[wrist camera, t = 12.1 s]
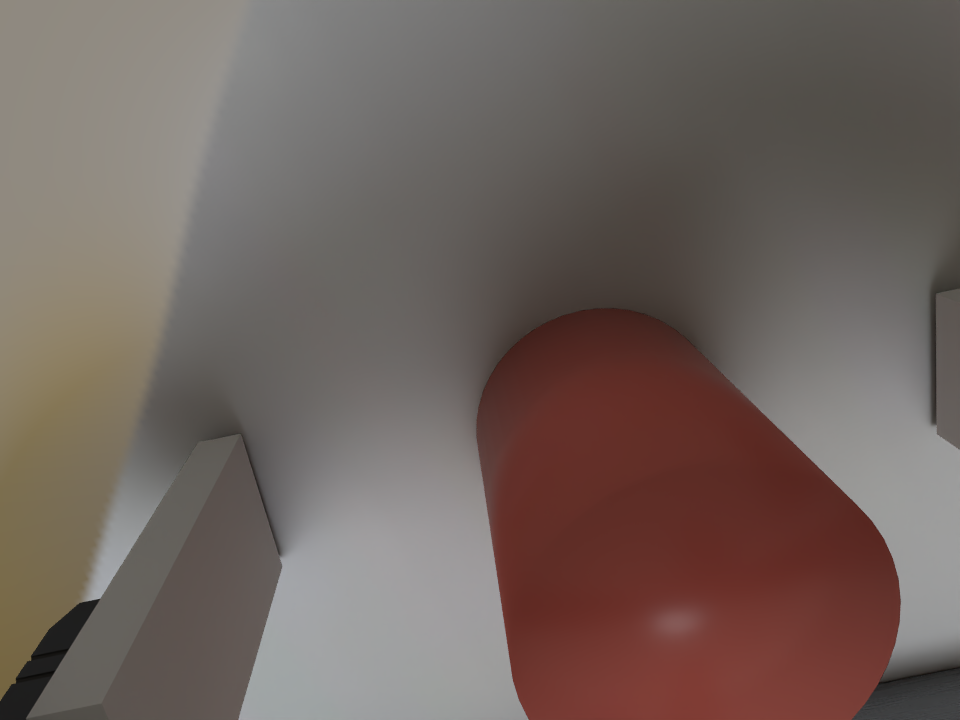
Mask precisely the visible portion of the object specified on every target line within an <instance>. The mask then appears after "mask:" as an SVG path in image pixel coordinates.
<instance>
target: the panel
mask: <svg viewBox="0 0 960 720" xmlns="http://www.w3.org/2000/svg"><path fill="white" fill-rule="evenodd" d="M851 720H960V668H957V669H952V670H947V671H942V672H937V673H932V674H927V675H922V676H917V677H912V678H907V679H902V680H897V681H892V682H887V683H882V684H878V685H877V687H876V688H875V689H874V691H873V692H872V694H871V695H870V697H869V698H868V700H867V701H866V703H865V704H864V705H863V707H862V708H861V709H860V710H859V711H858V712H857V714H856V715H855V716H854V717H853V718H852V719H851Z"/></svg>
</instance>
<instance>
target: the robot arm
mask: <svg viewBox="0 0 960 720" xmlns="http://www.w3.org/2000/svg"><path fill="white" fill-rule="evenodd" d="M936 399H937V434H938V435H939V436H940V437H942V438H943V439H945V440H946V441H948V442H949V443H951V444H952V445H954V446H955V447H957V448H958V449H959V450H960V289H955V290H950V291H945V292H940V293H936ZM281 569H282V564H281V560H280V557H279V554H278V551H277V548H276V544H275V541H274V538H273V535H272V532H271V529H270V525H269V522H268V519H267V516H266V513H265V509H264V506H263V503H262V500H261V497H260V493H259V490H258V487H257V484H256V481H255V477H254V474H253V471H252V468H251V465H250V461H249V458H248V455H247V452H246V449H245V445H244V442H243V439H242V436H241V434H237V435H232V436H227V437H222V438H217V439H212V440H207V441H202V442H198V443H197V445H196V446H195V448H194V450H193V451H192V453H191V454H190V456H189V458H188V459H187V461H186V462H185V464H184V466H183V467H182V469H181V470H180V472H179V474H178V475H177V477H176V478H175V480H174V482H173V483H172V485H171V486H170V488H169V490H168V491H167V493H166V495H165V496H164V498H163V499H162V501H161V503H160V504H159V506H158V507H157V509H156V511H155V512H154V514H153V515H152V517H151V519H150V520H149V522H148V523H147V525H146V527H145V528H144V530H143V531H142V533H141V535H140V536H139V538H138V539H137V541H136V543H135V544H134V546H133V547H132V549H131V551H130V552H129V554H128V556H127V557H126V559H125V560H124V562H123V564H122V565H121V567H120V568H119V570H118V572H117V573H116V575H115V576H114V578H113V580H112V581H111V583H110V584H109V586H108V588H107V589H106V591H105V592H104V594H103V596H102V597H101V599H97V600H92V601H87V602H82V603H79V604H78V605H77V606H76V607H74V608H73V609H72V610H71V611H70V612H69V613H68V614H66V615H65V616H64V617H63V618H62V619H61V620H59V621H58V622H57V623H56V624H55V625H54V626H52V627H51V628H50V629H49V630H48V632H47V633H46V635H45V636H44V638H43V639H42V641H41V642H40V644H39V645H38V647H37V648H36V650H35V651H34V652H33V654H32V655H31V661H28V662H27V663H26V664H25V666H24V667H23V669H22V670H21V671H20V673H19V675H18V676H17V677H16V684H12V685H11V686H10V688H9V689H8V691H7V692H6V694H5V695H4V696H3V698H2V699H1V701H0V720H238V718H239V715H240V711H241V708H242V704H243V701H244V697H245V694H246V690H247V687H248V683H249V680H250V677H251V673H252V670H253V666H254V663H255V659H256V656H257V652H258V649H259V645H260V642H261V638H262V635H263V631H264V628H265V625H266V621H267V618H268V614H269V611H270V607H271V604H272V600H273V597H274V593H275V590H276V586H277V583H278V580H279V576H280V573H281Z"/></svg>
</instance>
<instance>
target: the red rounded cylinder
mask: <svg viewBox="0 0 960 720" xmlns="http://www.w3.org/2000/svg"><path fill="white" fill-rule="evenodd" d="M477 443H478V451H479V457H480V464H481V471H482V477H483V484H484V491H485V497H486V504H487V511H488V517H489V524H490V531H491V537H492V544H493V551H494V557H495V564H496V571H497V577H498V584H499V591H500V597H501V604H502V611H503V617H504V624H505V631H506V637H507V644H508V651H509V657H510V664H511V671H512V677H513V682H514V685H515V688H516V691H517V695H518V698H519V701H520V703H521V705H522V707H523V709H524V711H525V713H526V715H527V717H528V719H529V720H851V719H852V718H853V717H854V716H855V715H856V714H857V712H858V711H859V710H860V709H861V708H862V707H863V705H864V704H865V703H866V701H867V700H868V698H869V697H870V695H871V694H872V692H873V691H874V689H875V688H876V687H877V685H878V683H879V681H880V679H881V677H882V675H883V673H884V671H885V669H886V667H887V665H888V663H889V660H890V657H891V654H892V651H893V649H894V646H895V642H896V637H897V632H898V627H899V622H900V604H901V599H900V590H899V580H898V576H897V572H896V568H895V565H894V561H893V558H892V556H891V553H890V551H889V549H888V547H887V545H886V543H885V540H884V538H883V537H882V535H881V534H880V532H879V531H878V529H877V528H876V526H875V525H874V524H873V522H872V521H871V520H870V518H869V517H868V516H867V515H866V514H865V513H864V512H863V511H862V510H861V509H860V508H859V507H858V506H857V505H856V504H855V503H854V502H853V501H852V500H851V499H850V498H849V497H848V496H847V495H846V494H845V493H844V492H843V491H842V490H841V489H840V488H839V487H838V486H837V485H836V484H835V483H834V482H833V481H832V480H831V479H830V478H829V477H828V476H827V475H826V474H825V473H824V472H823V471H822V470H821V469H819V468H818V467H817V466H816V465H815V464H814V463H813V462H812V461H811V460H810V459H809V458H808V457H807V456H806V455H805V454H804V453H803V452H802V451H801V450H800V449H799V448H798V447H797V446H796V445H795V444H794V443H793V442H792V441H791V440H790V439H789V438H788V437H787V436H786V435H785V434H784V433H783V432H782V431H780V430H779V429H778V428H777V427H776V426H775V425H774V424H773V423H772V422H771V421H770V420H769V419H768V418H767V417H766V416H765V415H764V414H763V413H762V412H761V411H760V410H759V409H758V408H757V407H756V406H755V405H754V404H753V403H752V402H751V401H750V400H749V399H748V398H747V397H746V396H745V395H744V394H742V393H741V392H740V391H739V390H738V389H737V388H736V387H735V386H734V385H733V384H732V383H731V382H730V381H729V380H728V379H727V378H726V377H725V376H724V375H723V374H722V373H721V372H720V371H719V370H718V369H717V368H716V367H715V366H714V365H713V364H712V363H711V362H710V361H709V360H708V359H707V358H706V357H705V356H703V355H702V354H701V353H700V352H699V351H698V350H697V349H696V348H695V347H694V346H693V345H692V344H691V343H690V342H689V341H688V340H687V339H686V338H685V337H684V336H682V335H681V334H680V333H679V332H677V331H676V330H675V329H674V328H672V327H670V326H669V325H667V324H665V323H663V322H662V321H660V320H658V319H655V318H653V317H650V316H648V315H645V314H642V313H638V312H634V311H630V310H622V309H614V308H609V309H590V310H583V311H578V312H574V313H570V314H567V315H563V316H561V317H558V318H556V319H553V320H551V321H549V322H547V323H545V324H543V325H541V326H540V327H538V328H536V329H534V330H533V331H531V332H530V333H529V334H527V335H526V336H525V337H523V338H522V339H520V340H519V341H518V342H517V343H516V344H515V345H514V346H513V347H512V348H511V349H510V350H509V351H508V352H507V353H506V354H505V356H504V357H503V358H502V359H501V361H500V362H499V363H498V364H497V366H496V368H495V369H494V371H493V373H492V374H491V376H490V377H489V380H488V382H487V384H486V386H485V389H484V391H483V394H482V397H481V401H480V404H479V409H478V415H477Z"/></svg>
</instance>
